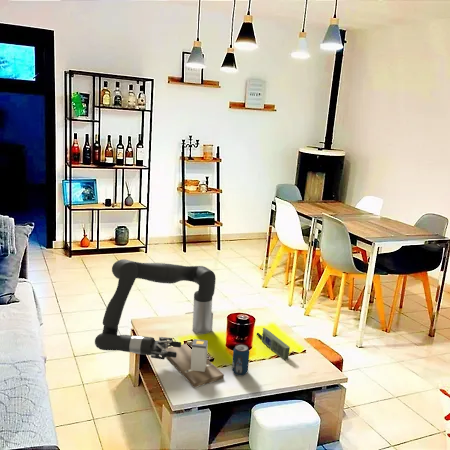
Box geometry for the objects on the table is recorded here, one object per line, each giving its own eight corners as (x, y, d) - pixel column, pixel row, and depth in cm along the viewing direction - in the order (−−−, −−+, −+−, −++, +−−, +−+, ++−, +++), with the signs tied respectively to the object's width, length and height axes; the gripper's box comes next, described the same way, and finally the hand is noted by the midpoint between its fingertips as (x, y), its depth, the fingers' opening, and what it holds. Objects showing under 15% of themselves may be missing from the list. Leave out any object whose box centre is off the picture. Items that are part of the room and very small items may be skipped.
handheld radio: (283, 361, 215) (254, 336, 236) (289, 360, 216) (259, 335, 237) (285, 348, 213) (255, 324, 234) (291, 346, 215) (261, 323, 236)
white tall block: (192, 363, 204) (194, 338, 201) (206, 365, 203) (207, 340, 200) (190, 370, 199) (191, 344, 196) (204, 371, 198) (205, 346, 195)
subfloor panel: (190, 346, 222) (190, 342, 222) (223, 378, 198) (223, 374, 198) (163, 353, 215) (163, 348, 214) (194, 387, 191) (194, 382, 190)
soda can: (244, 366, 208) (246, 342, 205) (250, 375, 202) (252, 350, 199) (229, 368, 206) (231, 344, 203) (235, 377, 199) (236, 352, 196)
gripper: (136, 345, 194) (175, 350, 192) (147, 329, 208) (182, 334, 206) (136, 361, 196) (174, 366, 194) (146, 344, 210) (182, 349, 208)
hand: (178, 349), depth 200 cm, fingers open, 8 cm apart
